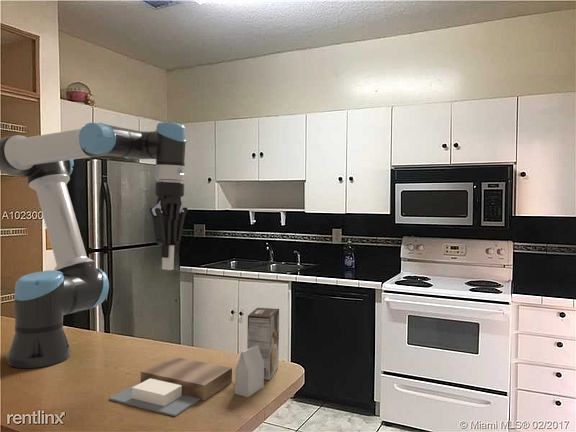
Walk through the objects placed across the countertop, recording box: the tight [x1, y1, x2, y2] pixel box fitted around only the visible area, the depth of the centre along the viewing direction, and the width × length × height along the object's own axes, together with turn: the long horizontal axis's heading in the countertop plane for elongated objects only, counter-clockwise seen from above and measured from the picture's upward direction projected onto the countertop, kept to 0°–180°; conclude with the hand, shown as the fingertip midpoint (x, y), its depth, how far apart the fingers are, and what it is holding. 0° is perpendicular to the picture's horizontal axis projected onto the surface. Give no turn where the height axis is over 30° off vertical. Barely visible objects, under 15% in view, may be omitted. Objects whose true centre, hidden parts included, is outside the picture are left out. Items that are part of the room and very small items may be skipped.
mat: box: [108, 383, 201, 417], centre depth 105 cm, size 18×9×1 cm, turn 66°
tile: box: [131, 378, 182, 406], centre depth 105 cm, size 9×6×2 cm, turn 66°
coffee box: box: [246, 307, 280, 381], centre depth 122 cm, size 9×6×16 cm
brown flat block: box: [140, 356, 233, 402], centre depth 114 cm, size 18×12×4 cm, turn 66°
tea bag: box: [234, 345, 265, 398], centre depth 111 cm, size 4×7×10 cm, turn 151°
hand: (167, 269), depth 127 cm, fingers closed
